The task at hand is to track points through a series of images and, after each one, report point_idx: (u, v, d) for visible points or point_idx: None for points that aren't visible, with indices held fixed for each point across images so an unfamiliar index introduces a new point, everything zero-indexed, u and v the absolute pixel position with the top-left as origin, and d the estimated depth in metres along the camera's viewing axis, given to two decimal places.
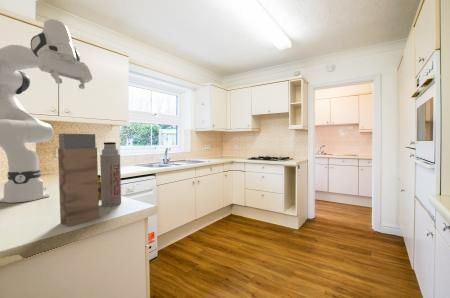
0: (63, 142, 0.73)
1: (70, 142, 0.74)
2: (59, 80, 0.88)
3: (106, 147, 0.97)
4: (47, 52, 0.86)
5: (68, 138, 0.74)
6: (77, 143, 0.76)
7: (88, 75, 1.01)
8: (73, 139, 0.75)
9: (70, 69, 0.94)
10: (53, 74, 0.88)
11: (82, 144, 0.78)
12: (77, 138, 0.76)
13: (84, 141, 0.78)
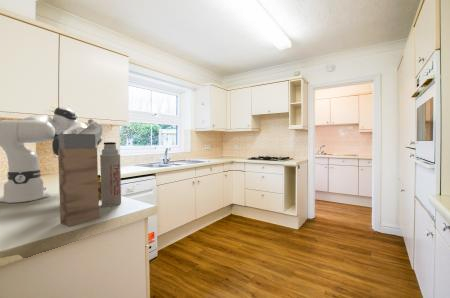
0: (63, 142, 0.73)
1: (70, 142, 0.74)
2: (92, 121, 1.02)
3: (106, 147, 0.97)
4: (100, 135, 1.11)
5: (68, 138, 0.74)
6: (77, 143, 0.76)
7: None
8: (73, 139, 0.75)
9: None
10: (94, 123, 1.04)
11: (82, 144, 0.78)
12: (77, 138, 0.76)
13: (84, 141, 0.78)
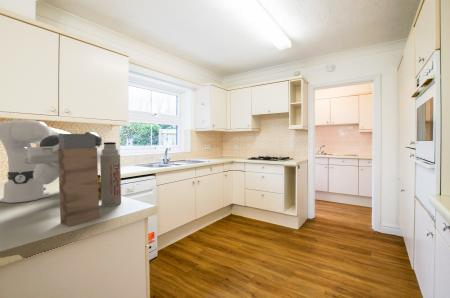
0: (63, 142, 0.73)
1: (70, 142, 0.74)
2: None
3: (106, 147, 0.97)
4: None
5: (68, 138, 0.74)
6: (77, 143, 0.76)
7: (36, 158, 0.78)
8: (73, 139, 0.75)
9: None
10: None
11: (82, 144, 0.78)
12: (77, 138, 0.76)
13: (84, 141, 0.78)
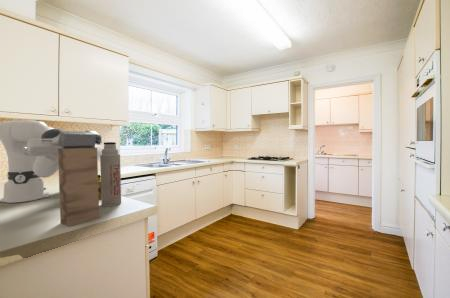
0: (63, 142, 0.73)
1: (69, 142, 0.74)
2: None
3: (106, 147, 0.97)
4: None
5: (68, 138, 0.74)
6: (77, 143, 0.76)
7: (35, 149, 0.78)
8: (73, 139, 0.75)
9: None
10: None
11: (82, 144, 0.78)
12: (77, 138, 0.76)
13: (84, 141, 0.78)
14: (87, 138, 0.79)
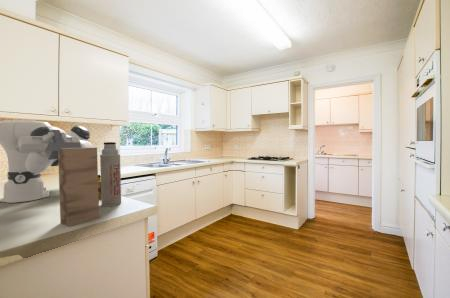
0: (49, 154, 0.80)
1: (55, 155, 0.81)
2: (64, 136, 0.89)
3: (106, 147, 0.97)
4: None
5: (55, 153, 0.80)
6: None
7: (26, 146, 0.83)
8: None
9: None
10: (65, 138, 0.91)
11: None
12: None
13: None
14: None
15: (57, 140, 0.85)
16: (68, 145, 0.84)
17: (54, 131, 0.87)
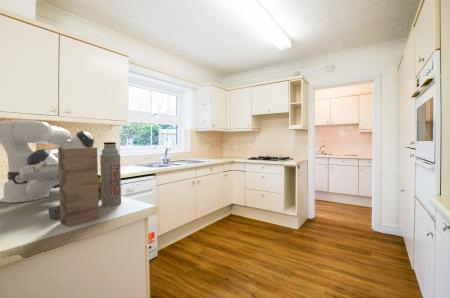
0: (51, 217, 0.81)
1: None
2: None
3: (106, 147, 0.97)
4: None
5: None
6: None
7: (27, 176, 0.83)
8: None
9: (53, 173, 0.90)
10: None
11: None
12: None
13: None
14: None
15: None
16: None
17: None
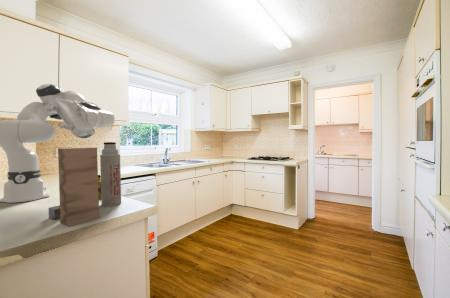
0: (51, 217, 0.81)
1: None
2: (49, 107, 0.91)
3: (106, 147, 0.97)
4: (71, 101, 1.01)
5: None
6: None
7: (82, 128, 0.95)
8: None
9: (72, 115, 0.96)
10: None
11: None
12: None
13: None
14: None
15: None
16: None
17: None
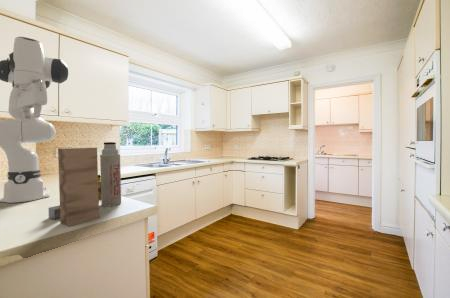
0: (51, 217, 0.81)
1: None
2: (24, 117, 0.85)
3: (106, 147, 0.97)
4: (14, 91, 0.85)
5: None
6: None
7: (33, 97, 0.77)
8: None
9: (25, 99, 0.81)
10: None
11: None
12: None
13: None
14: None
15: None
16: None
17: None
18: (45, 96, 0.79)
